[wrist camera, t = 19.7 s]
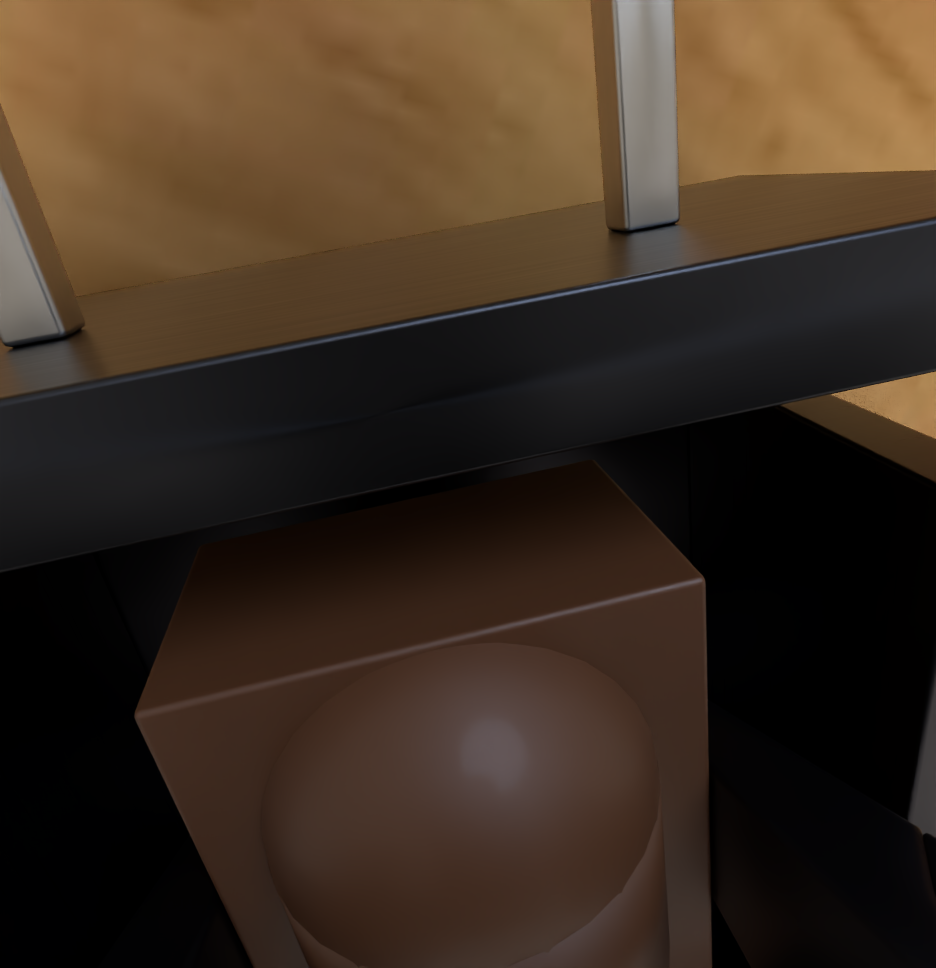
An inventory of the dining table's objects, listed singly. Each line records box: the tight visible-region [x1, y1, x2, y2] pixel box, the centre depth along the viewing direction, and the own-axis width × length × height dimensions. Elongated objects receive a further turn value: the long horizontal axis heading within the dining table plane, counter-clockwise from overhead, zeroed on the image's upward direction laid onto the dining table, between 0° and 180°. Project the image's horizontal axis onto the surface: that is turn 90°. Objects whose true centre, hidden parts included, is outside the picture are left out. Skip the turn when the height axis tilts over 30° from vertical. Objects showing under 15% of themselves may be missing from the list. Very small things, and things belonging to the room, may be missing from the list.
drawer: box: [0, 0, 936, 968], centre depth 9 cm, size 18×13×7 cm
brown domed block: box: [135, 460, 712, 968], centre depth 8 cm, size 6×5×4 cm
